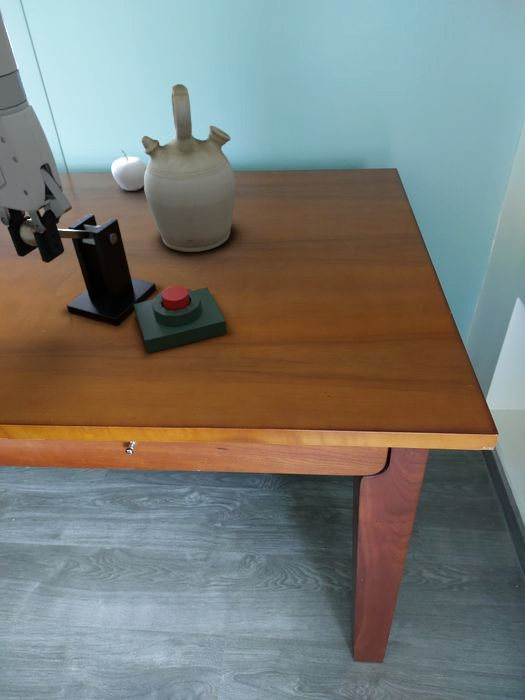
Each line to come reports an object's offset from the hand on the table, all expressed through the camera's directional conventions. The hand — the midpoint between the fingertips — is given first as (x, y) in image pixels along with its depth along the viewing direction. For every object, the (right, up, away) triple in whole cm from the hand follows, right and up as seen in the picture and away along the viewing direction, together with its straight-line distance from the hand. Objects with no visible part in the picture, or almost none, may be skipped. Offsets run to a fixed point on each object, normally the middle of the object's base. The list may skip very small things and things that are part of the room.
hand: (41, 253), depth 65 cm
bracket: (+5, -4, +15) cm, 16 cm away
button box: (+15, -8, +10) cm, 20 cm away
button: (+15, -6, +8) cm, 18 cm away
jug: (+15, +9, +30) cm, 35 cm away
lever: (+2, +2, +4) cm, 4 cm away
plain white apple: (-1, +23, +48) cm, 53 cm away
